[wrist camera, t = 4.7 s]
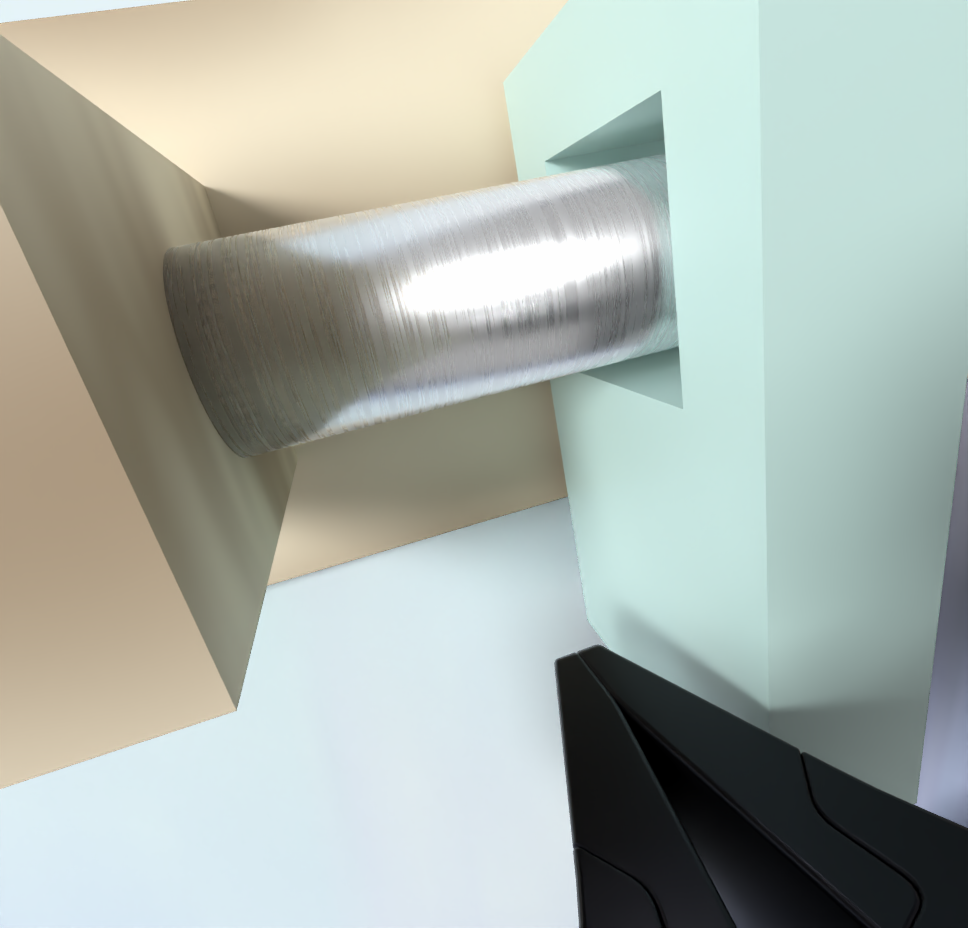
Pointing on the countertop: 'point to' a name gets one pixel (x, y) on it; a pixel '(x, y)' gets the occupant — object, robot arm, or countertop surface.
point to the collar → (775, 353)
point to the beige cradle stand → (156, 355)
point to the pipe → (423, 302)
